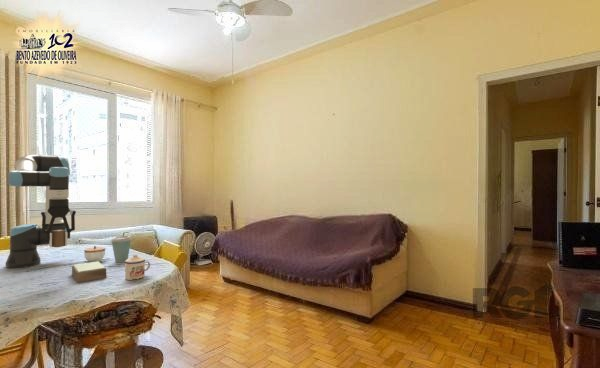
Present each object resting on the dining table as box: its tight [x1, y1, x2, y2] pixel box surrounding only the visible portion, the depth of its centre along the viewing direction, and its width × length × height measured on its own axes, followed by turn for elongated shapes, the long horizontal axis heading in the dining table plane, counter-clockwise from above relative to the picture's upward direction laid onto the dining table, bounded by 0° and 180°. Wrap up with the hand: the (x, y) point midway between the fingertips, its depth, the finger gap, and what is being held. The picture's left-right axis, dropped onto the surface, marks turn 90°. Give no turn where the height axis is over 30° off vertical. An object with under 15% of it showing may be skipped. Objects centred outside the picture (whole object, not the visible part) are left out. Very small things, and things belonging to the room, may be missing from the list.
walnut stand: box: [71, 261, 107, 283], centre depth 157 cm, size 18×12×5 cm, turn 43°
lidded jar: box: [83, 245, 106, 263], centre depth 186 cm, size 11×11×9 cm
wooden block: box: [51, 230, 66, 248], centre depth 149 cm, size 4×4×8 cm
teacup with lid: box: [124, 254, 151, 281], centre depth 155 cm, size 12×9×12 cm
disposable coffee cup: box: [110, 235, 132, 263], centre depth 187 cm, size 11×11×15 cm
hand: (58, 246), depth 149 cm, fingers closed on wooden block, 5 cm apart
